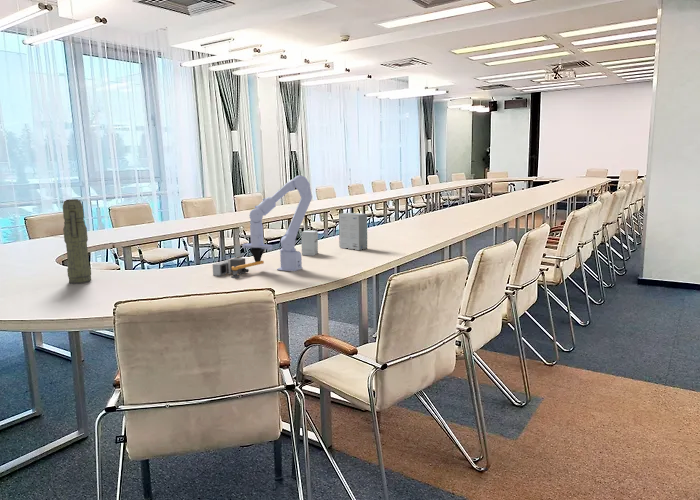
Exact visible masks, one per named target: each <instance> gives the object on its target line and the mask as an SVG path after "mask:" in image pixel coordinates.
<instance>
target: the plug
mask: <svg viewBox="0 0 700 500" xmlns="http://www.w3.org/2000/svg"><path fill="white" fill-rule="evenodd" d="M227 260H228V269H229V273H228V274H229V275H230V274H231V275H233V270H232V266H239V265H244V264H246V258H243V257H232V258H228V259H227ZM249 271H250V270H249V268H247V267H246V268H241V269H238V270H237V272H238V275H242V274H245V273H249Z"/></svg>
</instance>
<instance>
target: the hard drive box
mask: <svg viewBox="0 0 700 500" xmlns="http://www.w3.org/2000/svg"><path fill="white" fill-rule="evenodd" d="M338 235H339V237H338V239H339V244H338V245H339V247H341V248H340V249H345V248H348V249H347V250H353V249H355V250H354V251H362V249H363V250H367V249H368V214H367V213H360V212H359V213H358V212H357V213H356V212H342V213H339V214H338ZM366 248H367V249H366Z"/></svg>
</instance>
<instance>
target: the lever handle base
mask: <svg viewBox="0 0 700 500" xmlns="http://www.w3.org/2000/svg"><path fill="white" fill-rule="evenodd" d="M230 278H232V279H238V278H240V274H238V272H237V270H233V274H232V275H231V276H230Z"/></svg>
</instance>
